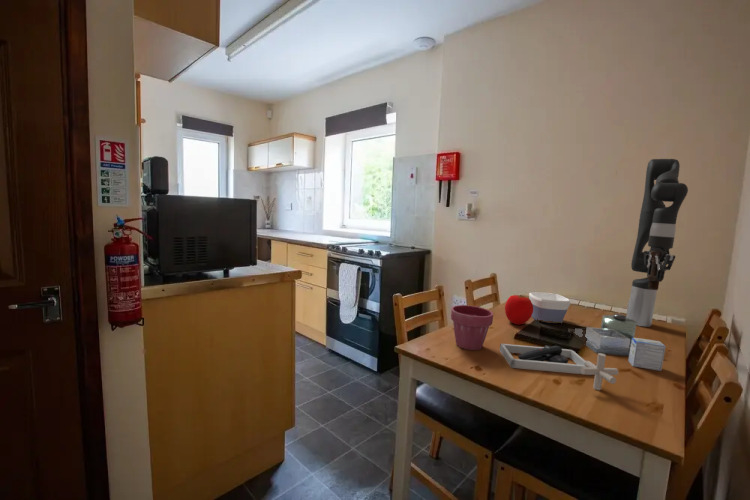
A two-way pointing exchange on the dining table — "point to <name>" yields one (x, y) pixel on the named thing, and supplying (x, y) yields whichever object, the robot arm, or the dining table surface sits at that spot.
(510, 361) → the gray parallelogram frame
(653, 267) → the bolt
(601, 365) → the pipe connector
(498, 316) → the dining table surface
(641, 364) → the medicine box
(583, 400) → the dining table surface
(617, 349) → the motor mount
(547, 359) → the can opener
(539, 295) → the bowl
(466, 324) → the plant pot
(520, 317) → the tomato
